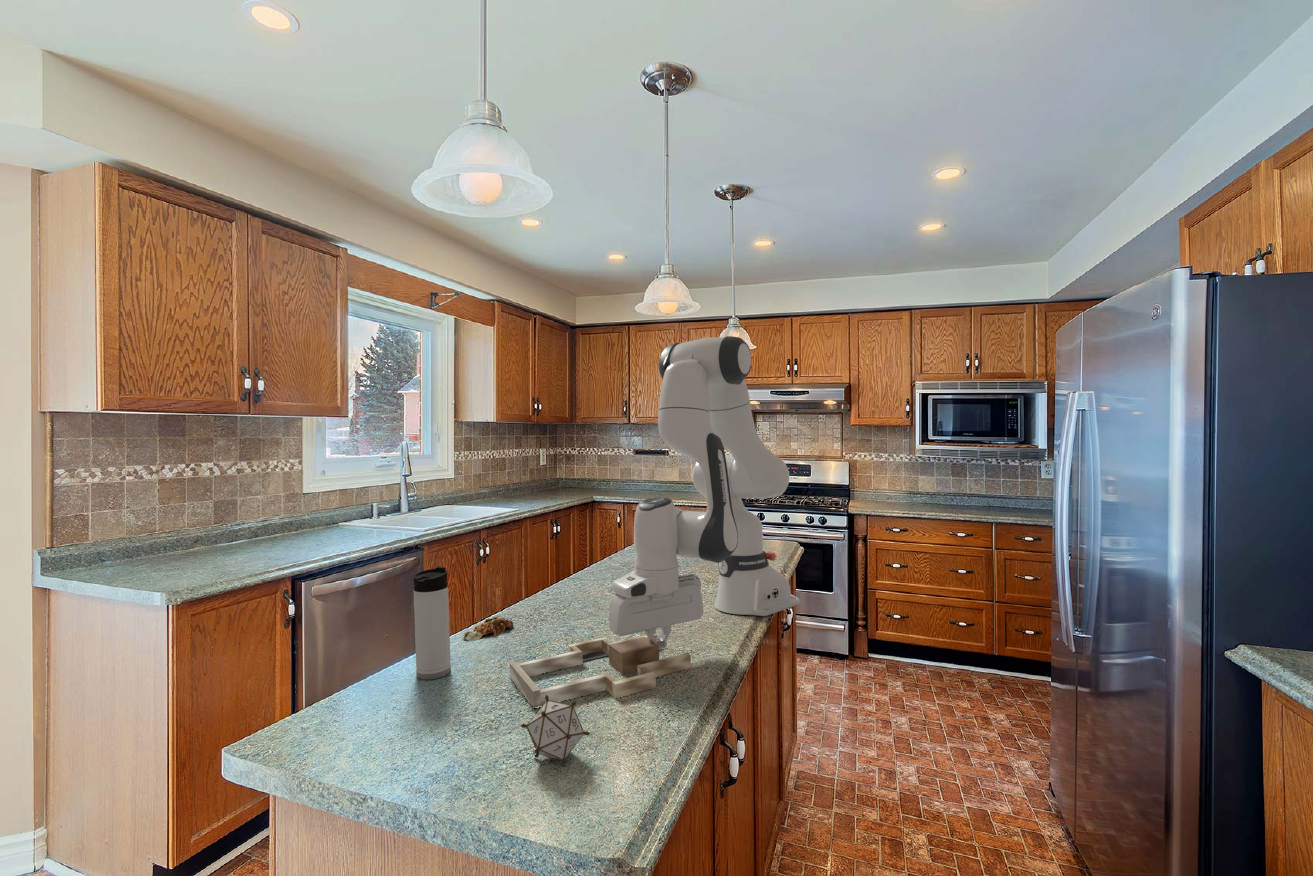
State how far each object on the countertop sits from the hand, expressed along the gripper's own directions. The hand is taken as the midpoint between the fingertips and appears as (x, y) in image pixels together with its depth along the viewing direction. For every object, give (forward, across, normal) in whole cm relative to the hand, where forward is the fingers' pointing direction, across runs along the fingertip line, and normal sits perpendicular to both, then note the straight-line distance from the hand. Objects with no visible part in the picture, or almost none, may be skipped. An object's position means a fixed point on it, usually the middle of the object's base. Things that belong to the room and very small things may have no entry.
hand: (658, 648), depth 119 cm
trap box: (+2, +12, 0) cm, 13 cm away
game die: (+2, +30, +23) cm, 38 cm away
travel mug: (+2, +40, -18) cm, 44 cm away
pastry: (+3, +25, -36) cm, 44 cm away
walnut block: (+2, +6, 0) cm, 6 cm away
